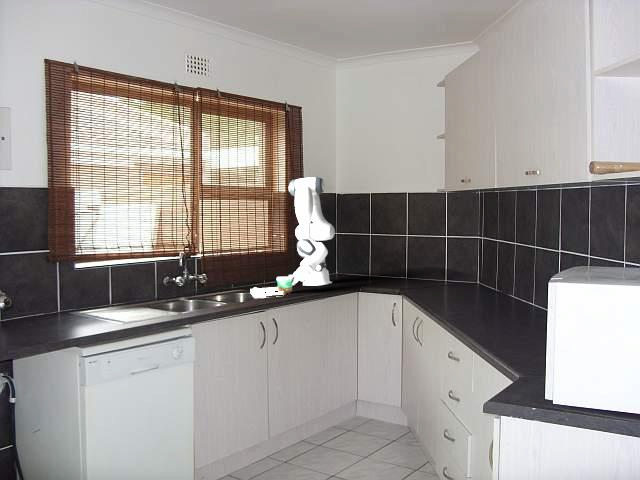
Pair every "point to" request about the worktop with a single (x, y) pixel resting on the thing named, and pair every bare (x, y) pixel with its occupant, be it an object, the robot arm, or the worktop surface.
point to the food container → (285, 284)
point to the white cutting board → (260, 293)
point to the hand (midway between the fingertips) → (291, 284)
